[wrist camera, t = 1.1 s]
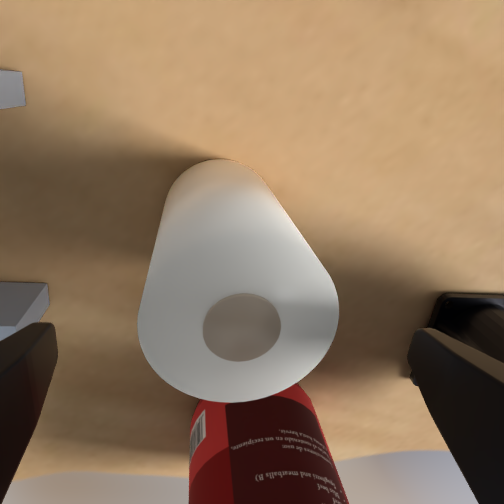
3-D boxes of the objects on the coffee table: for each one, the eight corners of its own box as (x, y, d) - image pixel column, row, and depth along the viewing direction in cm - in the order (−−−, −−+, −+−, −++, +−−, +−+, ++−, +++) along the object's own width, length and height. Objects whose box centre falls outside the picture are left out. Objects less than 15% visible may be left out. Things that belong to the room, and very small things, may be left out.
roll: (281, 164, 17) (361, 241, 9) (266, 266, 19) (320, 404, 11) (165, 153, 16) (135, 229, 8) (163, 261, 18) (137, 409, 10)
